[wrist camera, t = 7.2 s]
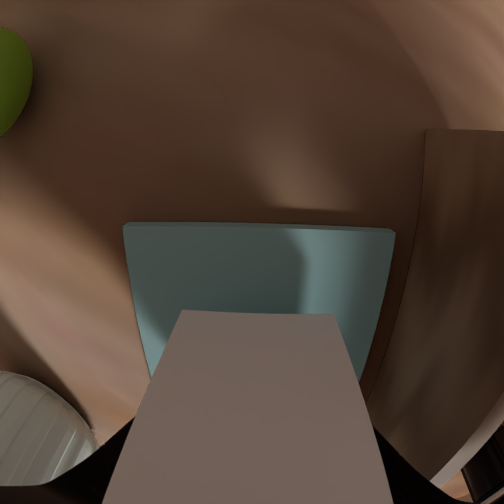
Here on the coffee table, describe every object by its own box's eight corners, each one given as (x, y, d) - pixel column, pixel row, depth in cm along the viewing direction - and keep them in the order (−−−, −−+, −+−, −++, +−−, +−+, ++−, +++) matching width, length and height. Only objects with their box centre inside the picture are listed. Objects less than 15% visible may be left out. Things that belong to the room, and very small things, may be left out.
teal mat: (345, 406, 14) (347, 414, 13) (163, 400, 14) (160, 408, 13) (389, 228, 10) (395, 233, 10) (129, 222, 11) (122, 226, 10)
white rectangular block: (313, 409, 11) (330, 558, 4) (196, 405, 11) (163, 551, 5) (333, 314, 9) (397, 519, 3) (181, 309, 9) (99, 507, 3)
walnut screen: (354, 464, 16) (368, 539, 10) (335, 466, 17) (346, 543, 10) (454, 137, 9) (596, 157, 2) (425, 129, 9) (575, 140, 2)
